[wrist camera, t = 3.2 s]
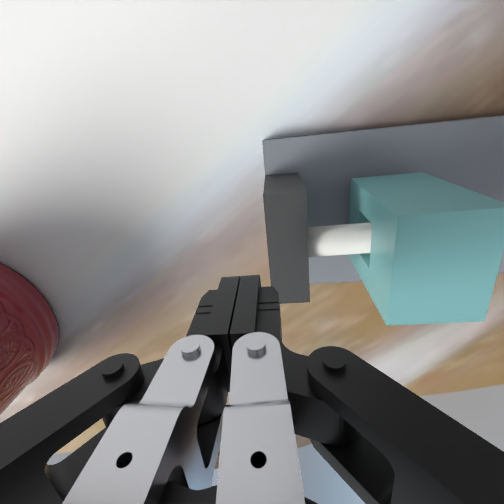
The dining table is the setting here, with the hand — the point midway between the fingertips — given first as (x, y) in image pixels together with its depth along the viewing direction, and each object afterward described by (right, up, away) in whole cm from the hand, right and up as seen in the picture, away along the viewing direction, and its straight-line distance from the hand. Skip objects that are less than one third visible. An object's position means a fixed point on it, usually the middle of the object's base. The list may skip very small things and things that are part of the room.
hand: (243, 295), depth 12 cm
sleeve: (+8, +4, +6) cm, 11 cm away
